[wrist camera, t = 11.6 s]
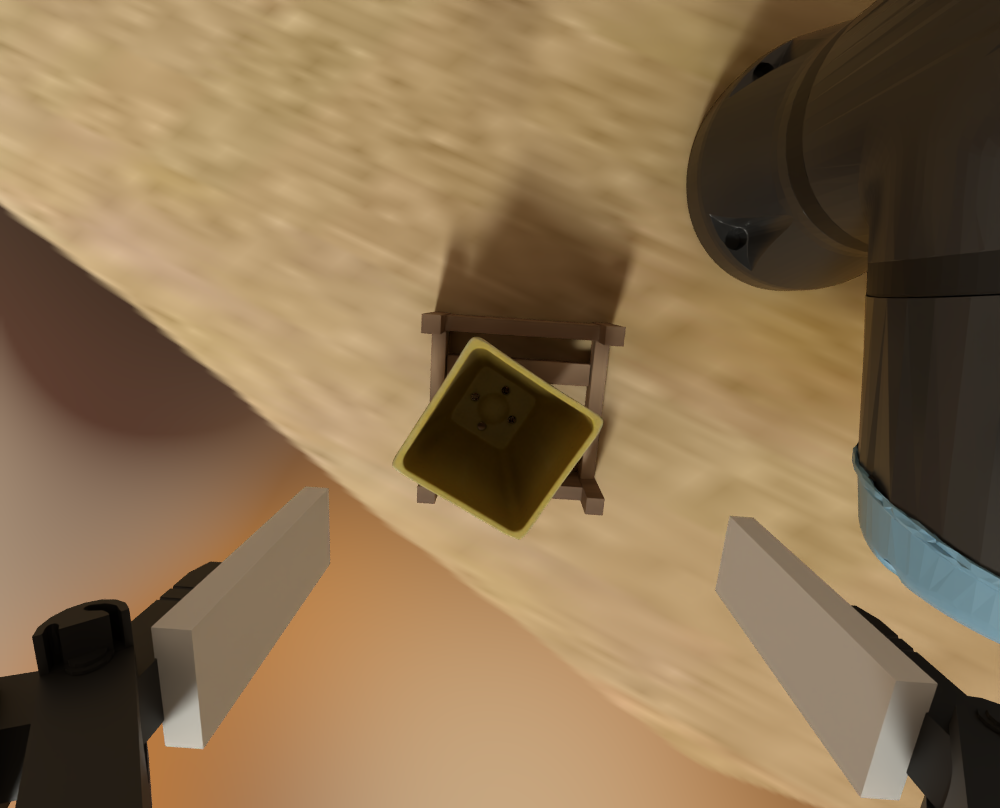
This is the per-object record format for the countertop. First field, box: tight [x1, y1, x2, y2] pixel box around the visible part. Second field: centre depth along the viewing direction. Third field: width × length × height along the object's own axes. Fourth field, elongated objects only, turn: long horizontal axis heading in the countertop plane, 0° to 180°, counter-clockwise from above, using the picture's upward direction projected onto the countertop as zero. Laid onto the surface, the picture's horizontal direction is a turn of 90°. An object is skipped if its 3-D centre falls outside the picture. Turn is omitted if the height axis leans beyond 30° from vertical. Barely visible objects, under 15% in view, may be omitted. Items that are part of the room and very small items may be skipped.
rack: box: [417, 312, 626, 515], centre depth 33 cm, size 13×13×5 cm
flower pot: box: [392, 337, 603, 540], centre depth 30 cm, size 9×9×9 cm
